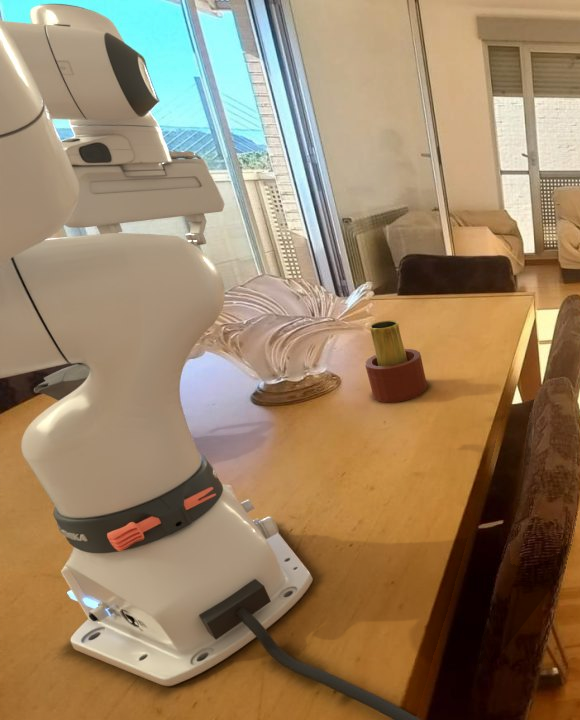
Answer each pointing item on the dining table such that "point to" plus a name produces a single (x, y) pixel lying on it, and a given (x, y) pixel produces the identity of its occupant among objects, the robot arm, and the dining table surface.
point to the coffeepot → (64, 381)
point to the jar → (397, 378)
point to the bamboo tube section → (388, 343)
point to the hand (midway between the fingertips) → (167, 250)
